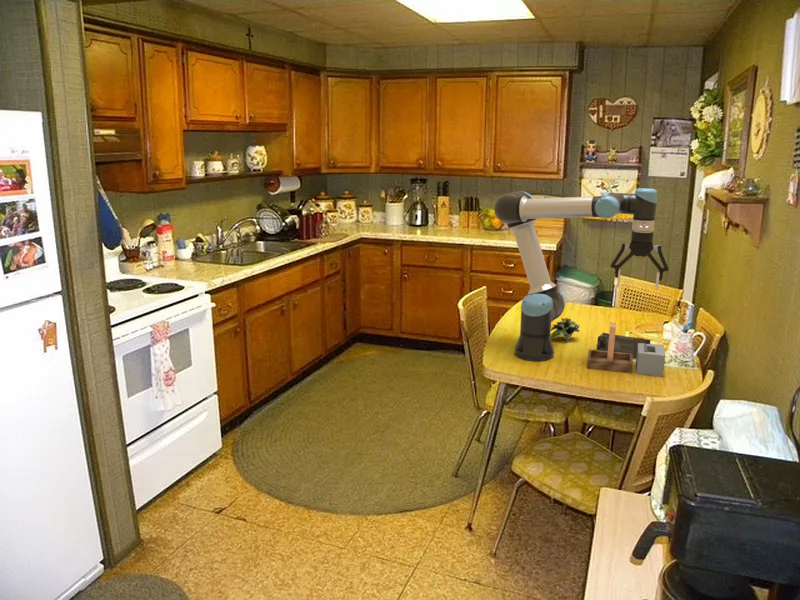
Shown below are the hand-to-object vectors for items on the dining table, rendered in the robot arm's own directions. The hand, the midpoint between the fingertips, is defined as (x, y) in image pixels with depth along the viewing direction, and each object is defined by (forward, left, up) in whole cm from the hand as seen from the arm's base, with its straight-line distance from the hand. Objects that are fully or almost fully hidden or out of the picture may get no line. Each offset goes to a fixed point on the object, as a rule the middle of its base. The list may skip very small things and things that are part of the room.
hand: (637, 287), depth 242 cm
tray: (-8, -9, -29) cm, 31 cm away
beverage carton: (-3, +9, -29) cm, 31 cm away
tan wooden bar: (-8, -9, -28) cm, 30 cm away
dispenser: (+6, -9, -29) cm, 31 cm away
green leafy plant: (-26, +17, -29) cm, 42 cm away
